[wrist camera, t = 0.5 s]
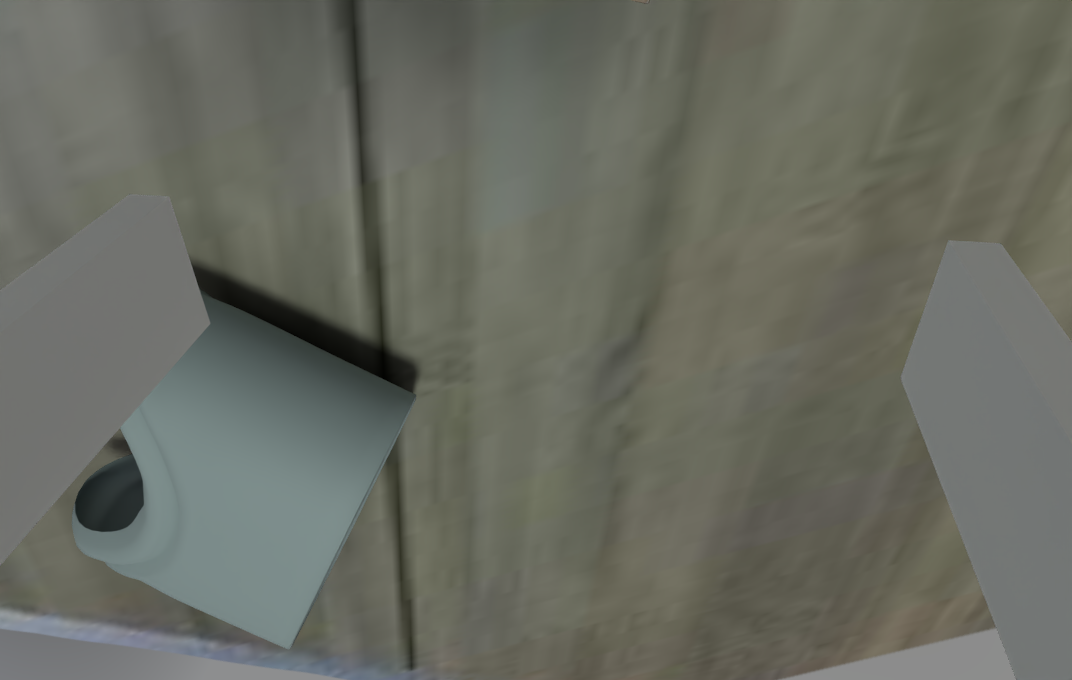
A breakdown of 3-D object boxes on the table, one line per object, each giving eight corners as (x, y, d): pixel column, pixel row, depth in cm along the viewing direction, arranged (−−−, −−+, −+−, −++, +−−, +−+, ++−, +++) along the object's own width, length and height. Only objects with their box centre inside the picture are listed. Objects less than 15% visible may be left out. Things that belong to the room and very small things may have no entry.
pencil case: (347, 538, 63) (274, 680, 53) (133, 440, 61) (14, 566, 51) (436, 358, 50) (363, 498, 40) (169, 226, 48) (20, 338, 38)
